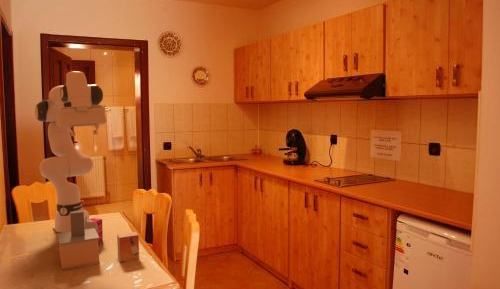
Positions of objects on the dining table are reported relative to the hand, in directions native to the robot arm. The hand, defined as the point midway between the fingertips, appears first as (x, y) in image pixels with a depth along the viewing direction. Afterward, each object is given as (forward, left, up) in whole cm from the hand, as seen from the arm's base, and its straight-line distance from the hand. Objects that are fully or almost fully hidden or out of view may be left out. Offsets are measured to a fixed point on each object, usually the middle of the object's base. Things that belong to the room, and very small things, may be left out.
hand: (84, 135), depth 178 cm
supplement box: (-7, -1, -52) cm, 52 cm away
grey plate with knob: (+14, +2, -42) cm, 44 cm away
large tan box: (+14, +2, -52) cm, 54 cm away
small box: (+11, +22, -52) cm, 58 cm away
